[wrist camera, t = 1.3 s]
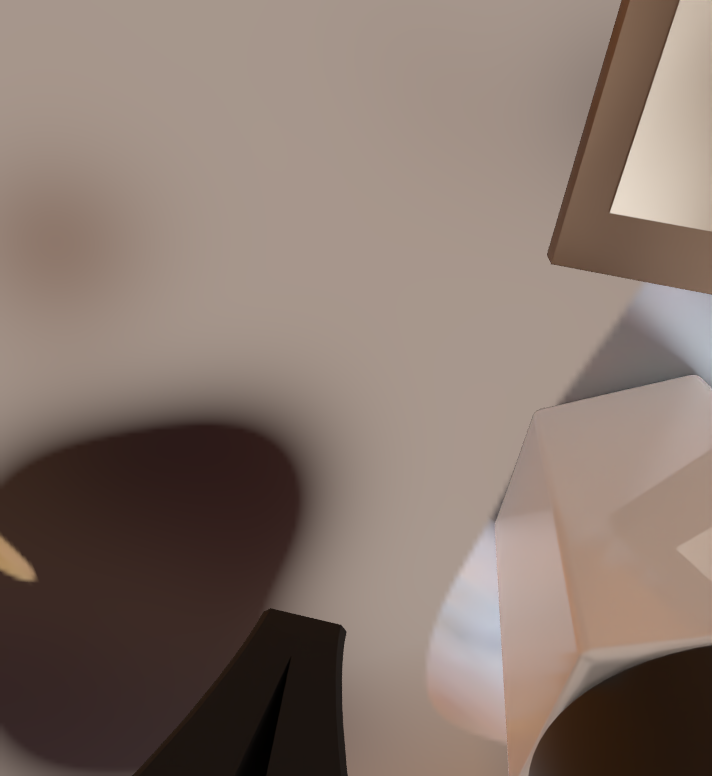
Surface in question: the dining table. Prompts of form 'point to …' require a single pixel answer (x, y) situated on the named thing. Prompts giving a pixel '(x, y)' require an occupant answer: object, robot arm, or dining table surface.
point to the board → (646, 153)
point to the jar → (610, 586)
